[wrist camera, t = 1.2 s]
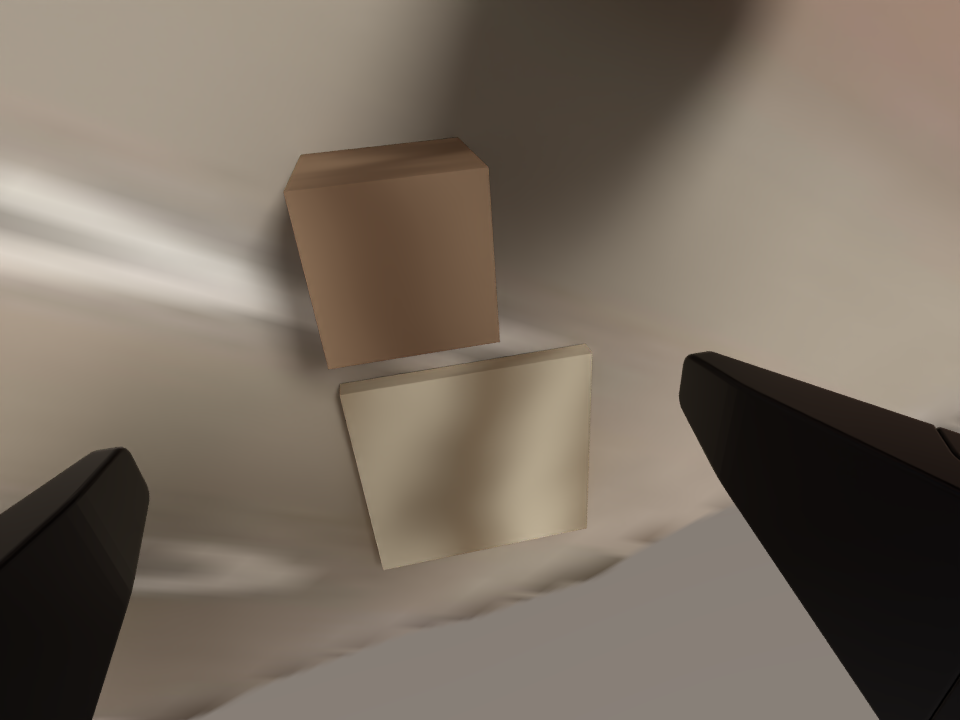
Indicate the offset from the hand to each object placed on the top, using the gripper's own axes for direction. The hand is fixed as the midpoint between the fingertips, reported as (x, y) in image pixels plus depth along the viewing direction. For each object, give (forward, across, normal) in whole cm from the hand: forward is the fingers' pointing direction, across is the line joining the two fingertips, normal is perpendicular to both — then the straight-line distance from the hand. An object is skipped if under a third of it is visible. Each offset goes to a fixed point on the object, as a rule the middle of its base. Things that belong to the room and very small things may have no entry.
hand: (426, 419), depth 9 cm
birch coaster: (+12, -2, +11) cm, 16 cm away
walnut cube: (+12, 0, 0) cm, 12 cm away
